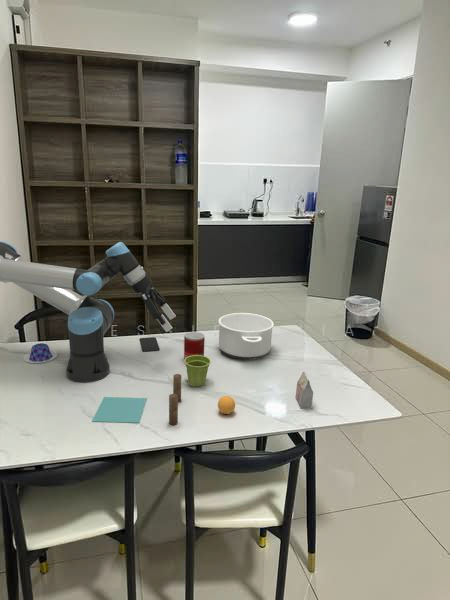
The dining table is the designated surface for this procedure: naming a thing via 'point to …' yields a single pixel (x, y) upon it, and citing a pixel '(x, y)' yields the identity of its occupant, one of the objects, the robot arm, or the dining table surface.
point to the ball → (226, 404)
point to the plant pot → (197, 369)
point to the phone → (149, 344)
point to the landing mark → (120, 410)
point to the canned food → (193, 344)
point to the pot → (245, 335)
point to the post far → (177, 386)
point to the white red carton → (304, 392)
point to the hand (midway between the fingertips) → (171, 323)
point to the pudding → (40, 353)
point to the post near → (173, 409)
